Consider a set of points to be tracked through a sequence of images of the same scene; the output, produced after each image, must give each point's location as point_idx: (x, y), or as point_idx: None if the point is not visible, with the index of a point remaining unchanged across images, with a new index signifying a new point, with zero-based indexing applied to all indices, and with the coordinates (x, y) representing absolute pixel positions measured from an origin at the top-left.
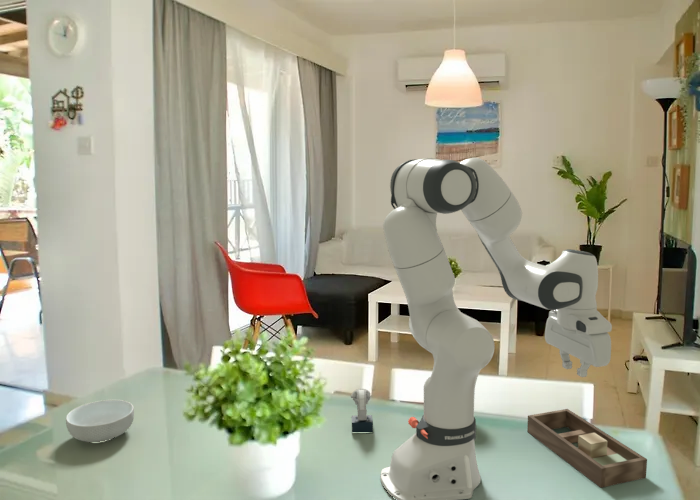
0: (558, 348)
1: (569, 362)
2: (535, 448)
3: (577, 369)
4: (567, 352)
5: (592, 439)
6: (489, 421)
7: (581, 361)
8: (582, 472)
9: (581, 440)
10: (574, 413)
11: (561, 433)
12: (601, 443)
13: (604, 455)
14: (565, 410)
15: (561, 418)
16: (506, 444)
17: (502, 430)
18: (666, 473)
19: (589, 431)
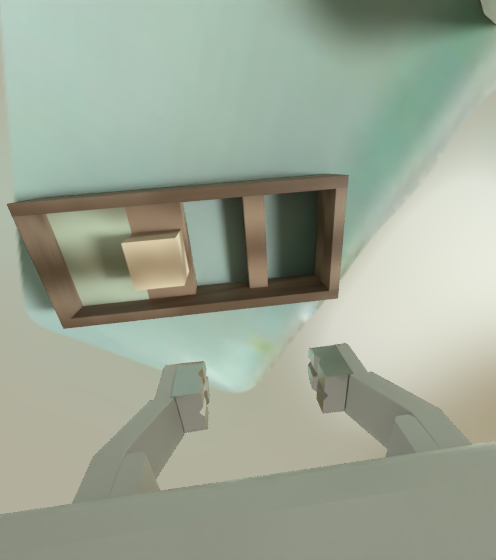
0: (478, 446)
1: (325, 395)
2: (246, 145)
3: (195, 388)
4: (313, 477)
5: (147, 261)
6: (423, 96)
7: (118, 478)
8: (107, 192)
9: (163, 237)
10: (309, 300)
11: (264, 234)
12: (131, 273)
13: None
14: (332, 289)
15: (323, 270)
16: (289, 70)
17: (362, 106)
18: (101, 344)
19: (239, 293)
